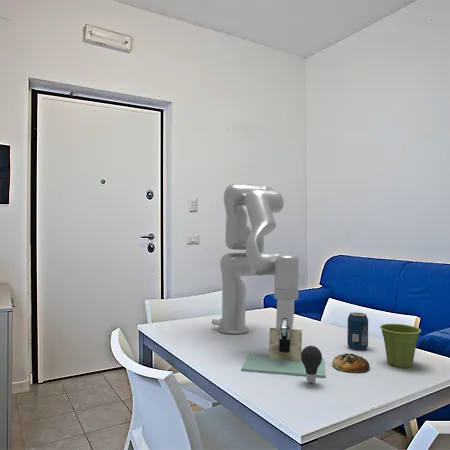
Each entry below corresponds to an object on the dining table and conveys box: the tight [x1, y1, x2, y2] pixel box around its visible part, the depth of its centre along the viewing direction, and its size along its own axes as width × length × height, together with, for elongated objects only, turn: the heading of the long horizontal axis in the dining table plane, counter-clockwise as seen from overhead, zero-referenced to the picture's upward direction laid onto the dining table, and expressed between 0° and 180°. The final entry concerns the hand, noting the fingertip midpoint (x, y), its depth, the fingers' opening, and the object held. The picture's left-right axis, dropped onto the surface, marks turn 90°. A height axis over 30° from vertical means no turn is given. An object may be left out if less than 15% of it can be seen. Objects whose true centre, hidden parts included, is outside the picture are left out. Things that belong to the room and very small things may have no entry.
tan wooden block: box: [268, 327, 303, 361], centre depth 130 cm, size 10×2×9 cm, turn 78°
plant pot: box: [379, 323, 422, 368], centre depth 128 cm, size 12×12×11 cm
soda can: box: [347, 312, 369, 351], centre depth 145 cm, size 7×7×12 cm
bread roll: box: [331, 352, 370, 374], centre depth 125 cm, size 11×11×5 cm
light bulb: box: [301, 345, 323, 385], centre depth 111 cm, size 6×6×10 cm
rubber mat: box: [240, 352, 327, 379], centre depth 125 cm, size 24×16×1 cm, turn 78°
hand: (285, 347), depth 130 cm, fingers open, 9 cm apart
